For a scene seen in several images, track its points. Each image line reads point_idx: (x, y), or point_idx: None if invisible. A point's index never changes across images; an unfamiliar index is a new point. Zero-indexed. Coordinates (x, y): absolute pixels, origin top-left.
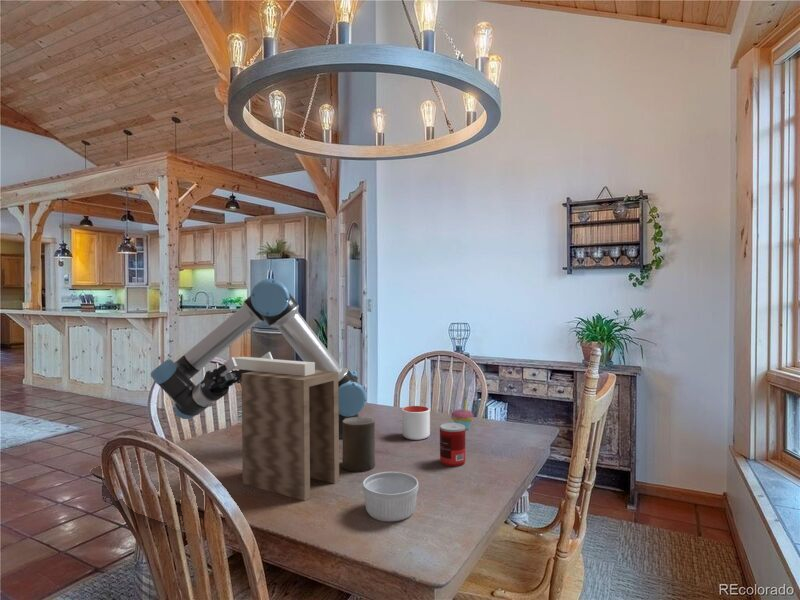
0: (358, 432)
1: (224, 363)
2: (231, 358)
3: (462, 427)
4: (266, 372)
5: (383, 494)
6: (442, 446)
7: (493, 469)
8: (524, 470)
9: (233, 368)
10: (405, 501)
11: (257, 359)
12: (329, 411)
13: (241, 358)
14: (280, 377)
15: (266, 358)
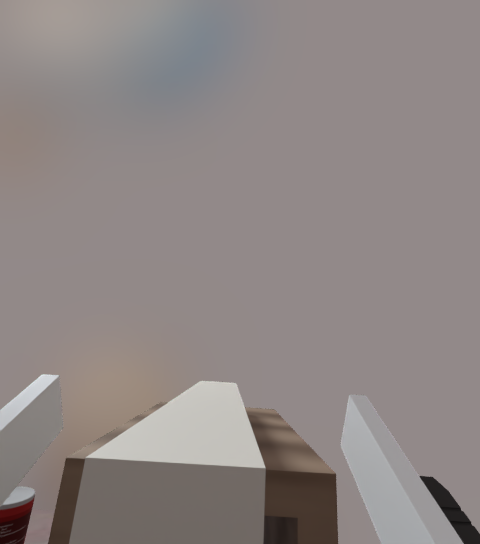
0: None
1: (408, 464)
2: (366, 402)
3: (15, 489)
4: None
5: None
6: (13, 540)
7: (36, 531)
8: (43, 511)
9: (356, 475)
10: None
11: (219, 405)
12: None
13: (229, 431)
14: (283, 421)
15: (35, 429)
